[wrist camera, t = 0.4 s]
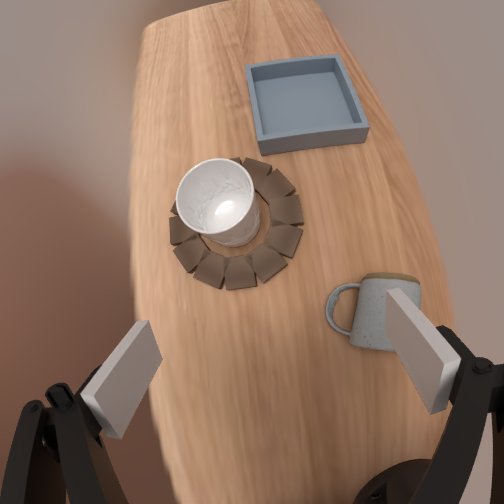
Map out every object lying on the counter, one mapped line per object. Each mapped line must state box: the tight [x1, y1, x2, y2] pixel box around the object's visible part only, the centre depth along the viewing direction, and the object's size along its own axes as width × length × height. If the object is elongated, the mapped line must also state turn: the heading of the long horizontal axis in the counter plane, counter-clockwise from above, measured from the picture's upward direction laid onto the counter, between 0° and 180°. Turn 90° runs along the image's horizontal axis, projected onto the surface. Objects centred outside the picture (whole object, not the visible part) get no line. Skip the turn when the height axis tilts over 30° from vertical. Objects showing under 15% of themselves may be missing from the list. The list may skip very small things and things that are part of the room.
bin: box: [245, 54, 370, 156], centre depth 37 cm, size 15×15×4 cm
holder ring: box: [169, 157, 303, 290], centre depth 37 cm, size 17×17×1 cm
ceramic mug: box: [326, 273, 421, 352], centre depth 30 cm, size 11×8×8 cm
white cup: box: [176, 158, 261, 247], centre depth 33 cm, size 8×8×10 cm
